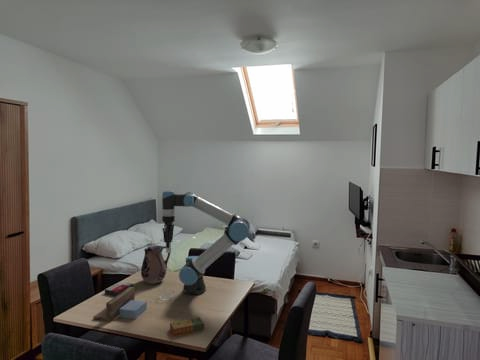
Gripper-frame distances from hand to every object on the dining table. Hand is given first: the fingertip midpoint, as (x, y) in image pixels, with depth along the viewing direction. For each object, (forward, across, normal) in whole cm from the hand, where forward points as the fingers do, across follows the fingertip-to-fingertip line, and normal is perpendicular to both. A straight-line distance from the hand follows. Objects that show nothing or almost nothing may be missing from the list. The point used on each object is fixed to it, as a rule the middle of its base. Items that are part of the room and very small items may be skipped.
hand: (168, 252), depth 207 cm
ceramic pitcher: (+30, -25, -21) cm, 44 cm away
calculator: (+30, -2, -36) cm, 47 cm away
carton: (+30, +35, +26) cm, 53 cm away
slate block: (+30, +24, -11) cm, 40 cm away
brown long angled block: (+29, +24, -22) cm, 44 cm away
